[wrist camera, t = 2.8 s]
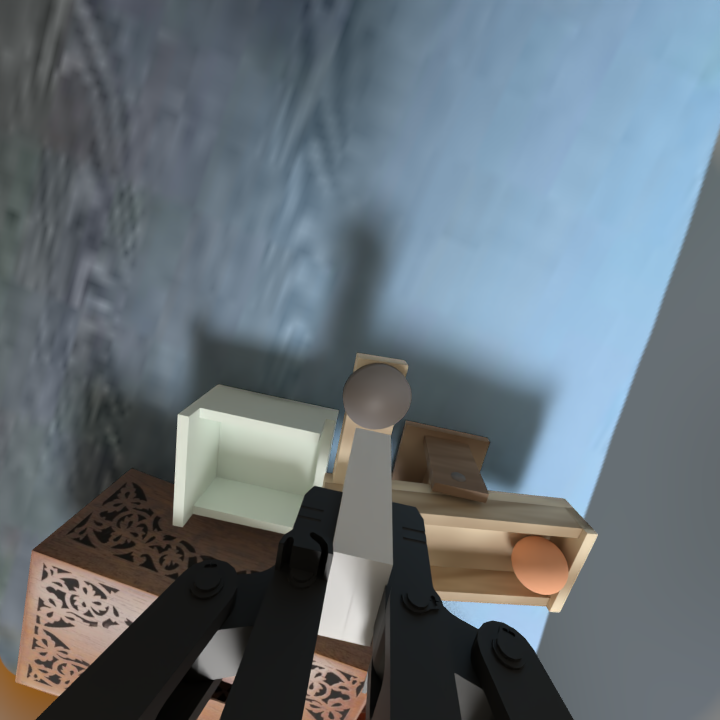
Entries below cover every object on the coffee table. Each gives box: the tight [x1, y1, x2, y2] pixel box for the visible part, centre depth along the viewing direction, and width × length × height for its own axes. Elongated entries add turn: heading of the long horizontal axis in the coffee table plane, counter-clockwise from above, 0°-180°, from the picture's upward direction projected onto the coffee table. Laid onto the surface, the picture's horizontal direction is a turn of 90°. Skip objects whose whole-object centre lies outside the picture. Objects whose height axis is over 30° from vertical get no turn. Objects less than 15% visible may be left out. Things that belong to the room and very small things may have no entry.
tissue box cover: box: [15, 468, 373, 720], centre depth 31 cm, size 26×14×10 cm, turn 69°
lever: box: [322, 353, 598, 612], centre depth 23 cm, size 16×18×3 cm
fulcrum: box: [391, 420, 490, 503], centre depth 28 cm, size 10×7×7 cm
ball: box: [511, 536, 568, 595], centre depth 24 cm, size 4×4×4 cm
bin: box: [173, 384, 339, 534], centre depth 28 cm, size 10×11×6 cm
